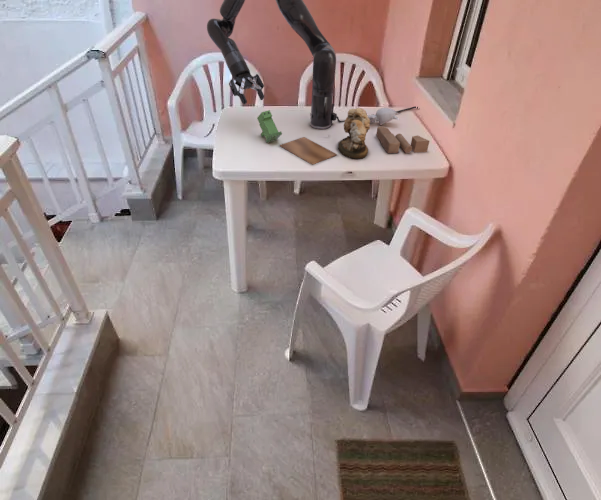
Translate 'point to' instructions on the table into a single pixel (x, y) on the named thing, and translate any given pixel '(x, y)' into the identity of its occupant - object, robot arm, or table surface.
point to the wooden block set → (400, 142)
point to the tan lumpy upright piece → (355, 134)
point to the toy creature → (383, 116)
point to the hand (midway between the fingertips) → (254, 101)
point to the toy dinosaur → (268, 126)
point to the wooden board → (308, 150)
